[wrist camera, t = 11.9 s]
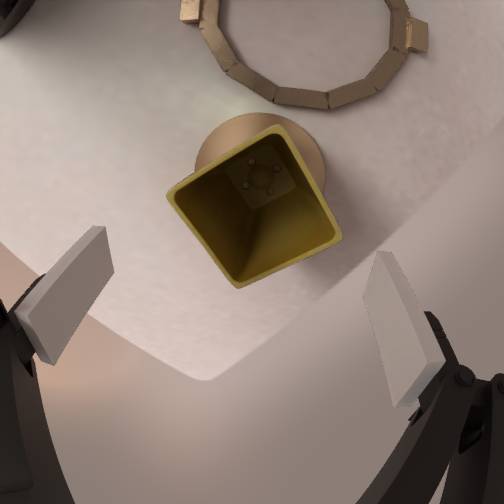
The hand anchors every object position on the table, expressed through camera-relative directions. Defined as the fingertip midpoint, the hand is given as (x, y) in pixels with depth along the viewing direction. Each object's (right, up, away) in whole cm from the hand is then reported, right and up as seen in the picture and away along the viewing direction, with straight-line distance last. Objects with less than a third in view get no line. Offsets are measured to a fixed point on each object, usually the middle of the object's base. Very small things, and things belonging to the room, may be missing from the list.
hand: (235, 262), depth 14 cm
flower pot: (+2, +7, +13) cm, 15 cm away
